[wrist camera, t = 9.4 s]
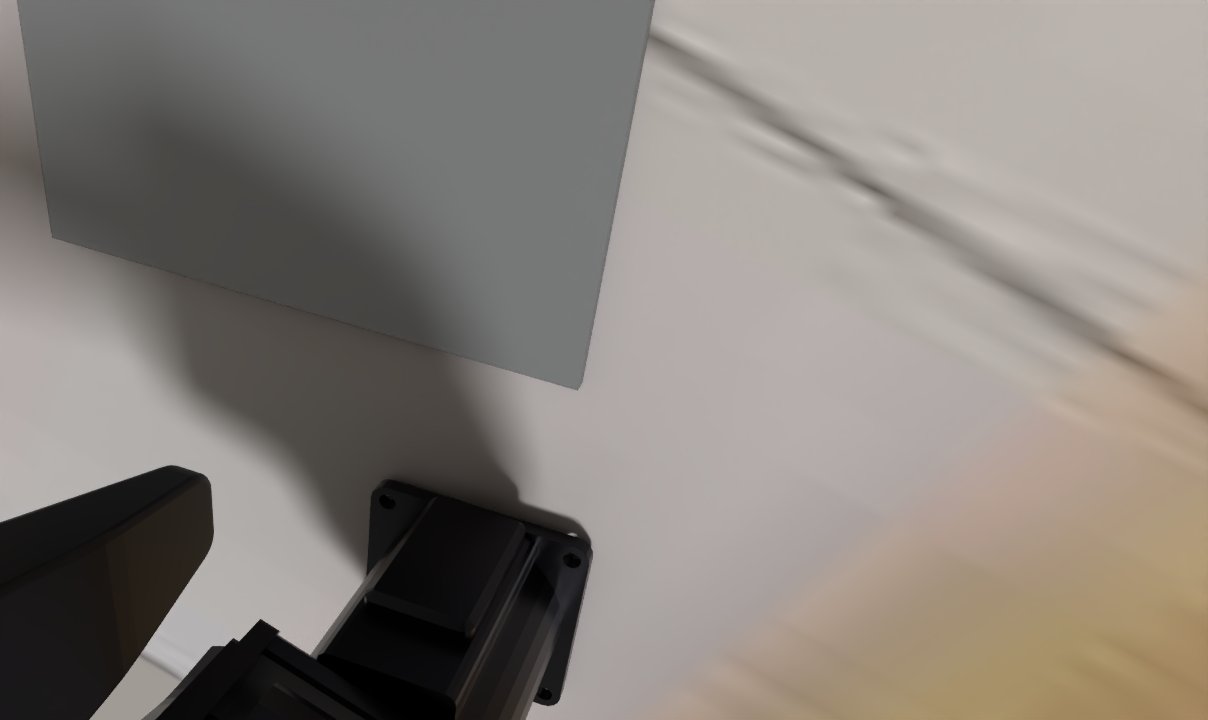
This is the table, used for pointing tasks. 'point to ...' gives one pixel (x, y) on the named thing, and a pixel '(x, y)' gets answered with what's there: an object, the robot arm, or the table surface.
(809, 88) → the table surface
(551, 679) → the robot arm
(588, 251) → the rubber mat
